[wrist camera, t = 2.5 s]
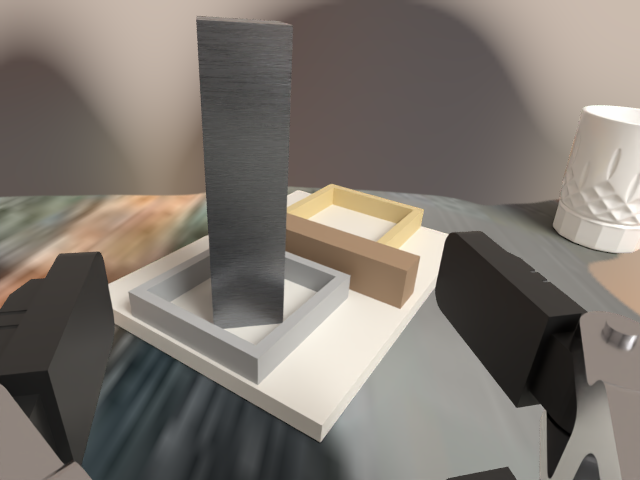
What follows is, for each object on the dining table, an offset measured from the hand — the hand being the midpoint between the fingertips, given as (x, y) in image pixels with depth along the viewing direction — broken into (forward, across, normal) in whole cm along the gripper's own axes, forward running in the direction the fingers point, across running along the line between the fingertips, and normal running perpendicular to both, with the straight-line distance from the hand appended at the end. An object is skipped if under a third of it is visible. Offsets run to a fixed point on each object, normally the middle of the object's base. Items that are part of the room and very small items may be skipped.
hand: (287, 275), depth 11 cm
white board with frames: (+16, -4, +10) cm, 19 cm away
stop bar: (+11, 0, +9) cm, 15 cm away
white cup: (+19, -30, +10) cm, 37 cm away
